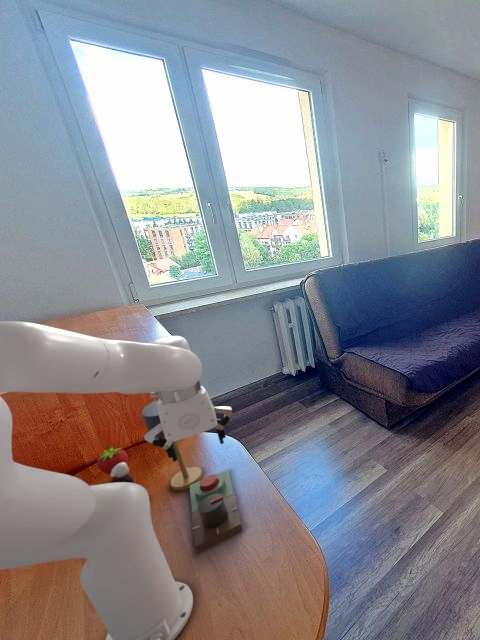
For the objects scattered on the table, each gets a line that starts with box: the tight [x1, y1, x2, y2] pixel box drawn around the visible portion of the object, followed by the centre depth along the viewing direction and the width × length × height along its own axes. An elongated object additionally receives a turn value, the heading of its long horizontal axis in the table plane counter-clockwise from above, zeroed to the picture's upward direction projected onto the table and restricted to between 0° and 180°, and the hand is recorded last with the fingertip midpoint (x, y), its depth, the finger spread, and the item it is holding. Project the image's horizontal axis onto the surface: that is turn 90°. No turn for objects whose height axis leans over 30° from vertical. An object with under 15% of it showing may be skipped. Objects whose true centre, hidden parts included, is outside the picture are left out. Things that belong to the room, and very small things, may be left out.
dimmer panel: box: [190, 494, 244, 554], centre depth 78 cm, size 10×9×2 cm
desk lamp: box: [141, 399, 203, 491], centre depth 86 cm, size 8×8×24 cm
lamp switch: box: [200, 474, 218, 491], centre depth 85 cm, size 4×4×2 cm
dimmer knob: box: [198, 494, 228, 528], centre depth 77 cm, size 5×5×5 cm
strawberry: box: [96, 445, 129, 476], centre depth 90 cm, size 6×8×10 cm
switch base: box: [189, 469, 236, 514], centre depth 86 cm, size 10×9×3 cm
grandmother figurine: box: [109, 462, 137, 484], centre depth 81 cm, size 8×4×13 cm, turn 84°
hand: (199, 448), depth 81 cm, fingers open, 9 cm apart
